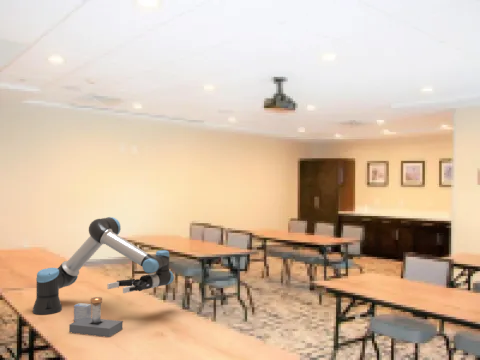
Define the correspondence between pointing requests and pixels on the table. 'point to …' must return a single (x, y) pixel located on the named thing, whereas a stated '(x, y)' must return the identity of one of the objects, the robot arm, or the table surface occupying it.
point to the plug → (96, 310)
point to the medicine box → (82, 311)
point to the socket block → (96, 327)
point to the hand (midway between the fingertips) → (115, 288)
